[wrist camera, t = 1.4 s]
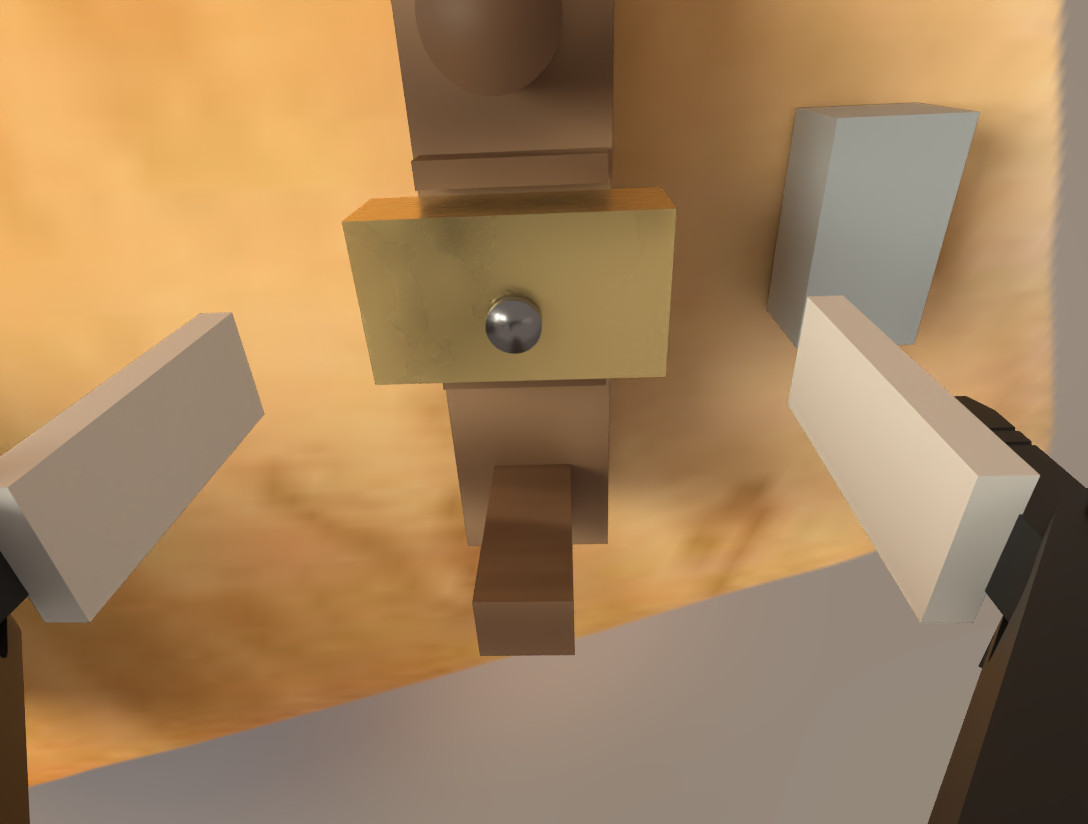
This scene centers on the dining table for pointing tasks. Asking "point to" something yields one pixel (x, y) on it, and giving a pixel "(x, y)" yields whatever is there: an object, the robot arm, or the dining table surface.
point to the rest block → (867, 210)
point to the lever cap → (515, 285)
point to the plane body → (515, 167)
